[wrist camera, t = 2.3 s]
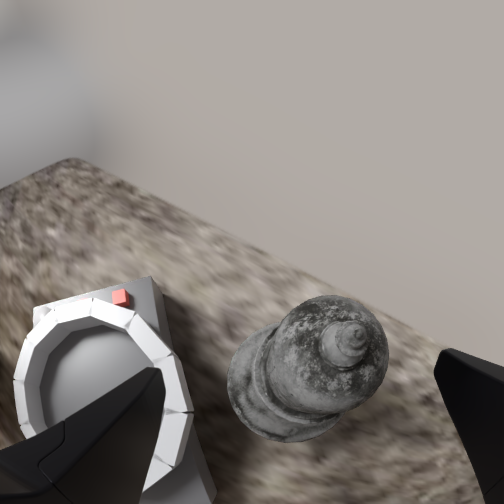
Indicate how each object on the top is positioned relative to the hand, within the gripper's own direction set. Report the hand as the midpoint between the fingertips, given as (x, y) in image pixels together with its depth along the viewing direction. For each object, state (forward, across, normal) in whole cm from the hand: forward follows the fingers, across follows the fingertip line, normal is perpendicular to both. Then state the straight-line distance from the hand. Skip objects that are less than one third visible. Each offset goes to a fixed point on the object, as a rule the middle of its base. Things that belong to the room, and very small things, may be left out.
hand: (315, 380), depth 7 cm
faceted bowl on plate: (+5, +10, +7) cm, 13 cm away
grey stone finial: (+6, 0, +6) cm, 8 cm away
